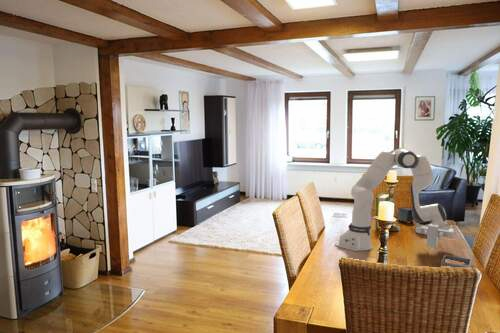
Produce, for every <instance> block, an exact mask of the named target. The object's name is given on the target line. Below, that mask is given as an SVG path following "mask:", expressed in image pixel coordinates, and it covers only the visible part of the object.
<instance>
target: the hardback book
mask: <svg viewBox="0 0 500 333" xmlns="http://www.w3.org/2000/svg"><path fill="white" fill-rule="evenodd" d="M375 198H376V202H375V206H376V207H375V217H376V216H378V204H379V202H380V201H392V202H393V203H394V197H393V198H392V199H391V200H390V198H389V193H388V192H382V193H380V194H379V195H377V196H376V197H375ZM374 226H375V228H376V229H375V230H378V229H379V227H378V224H377V221H376V220H375V225H374ZM377 228H378V229H377Z"/></svg>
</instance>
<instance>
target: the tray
mask: <svg viewBox="0 0 500 333" xmlns="http://www.w3.org/2000/svg"><path fill="white" fill-rule="evenodd" d="M445 259H450V260H455V261H459V262H464V263H465V264H463V265H462V264H461V265H459V264H453V263H447V262H445ZM473 262H474V259H473V258H469V257H464V256H463V257H462V256H456V255H449V254H443V257H442V259H441V261H440V265H442V266H451V267H472V268H473Z"/></svg>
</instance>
